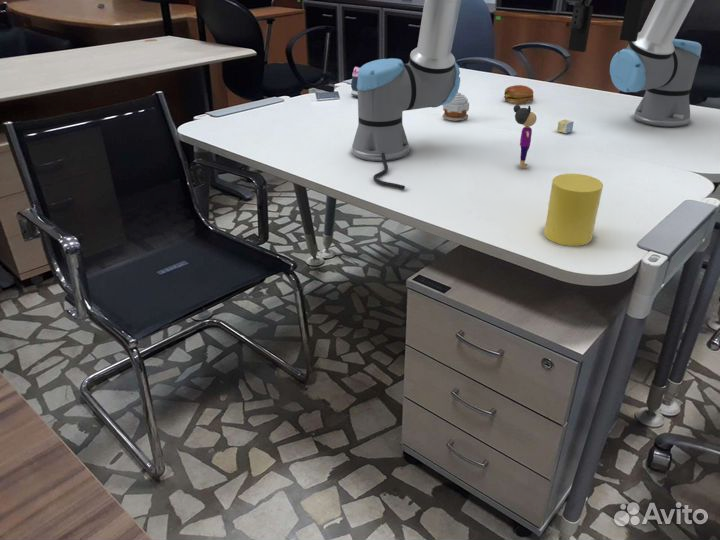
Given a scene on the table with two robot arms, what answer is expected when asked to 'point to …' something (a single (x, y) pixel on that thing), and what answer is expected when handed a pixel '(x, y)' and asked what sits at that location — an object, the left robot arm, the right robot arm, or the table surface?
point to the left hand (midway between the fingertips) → (603, 45)
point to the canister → (572, 209)
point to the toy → (524, 130)
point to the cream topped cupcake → (456, 108)
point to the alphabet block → (565, 126)
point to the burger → (518, 94)
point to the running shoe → (354, 82)
